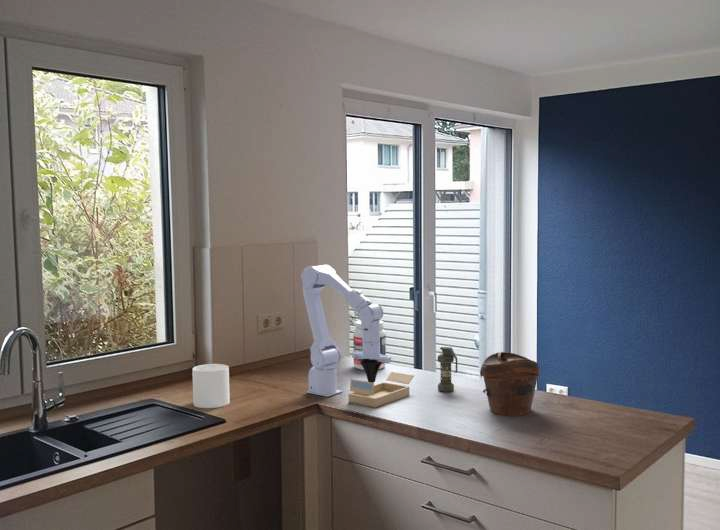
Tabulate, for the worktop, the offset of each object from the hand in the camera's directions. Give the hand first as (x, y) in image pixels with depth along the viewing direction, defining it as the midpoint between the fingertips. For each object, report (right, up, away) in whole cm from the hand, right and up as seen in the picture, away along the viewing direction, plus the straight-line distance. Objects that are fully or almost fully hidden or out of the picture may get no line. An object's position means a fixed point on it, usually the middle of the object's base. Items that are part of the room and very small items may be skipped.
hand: (371, 382), depth 236 cm
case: (+43, -7, -11) cm, 45 cm away
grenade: (+26, -5, +14) cm, 30 cm away
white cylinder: (-53, -7, +1) cm, 53 cm away
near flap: (-3, -1, -4) cm, 5 cm away
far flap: (+10, 0, +12) cm, 16 cm away
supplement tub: (0, -3, +51) cm, 51 cm away
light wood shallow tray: (+3, -6, +4) cm, 8 cm away
